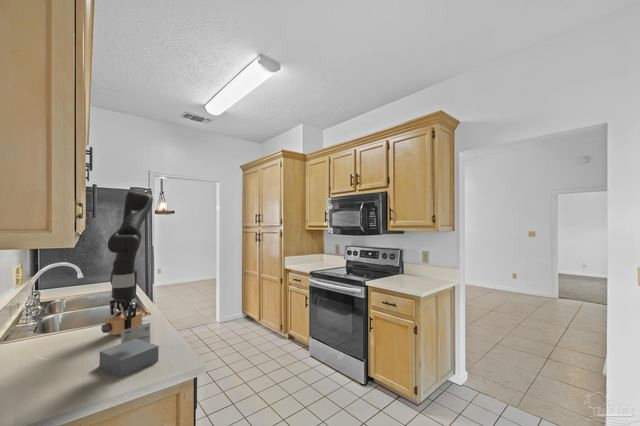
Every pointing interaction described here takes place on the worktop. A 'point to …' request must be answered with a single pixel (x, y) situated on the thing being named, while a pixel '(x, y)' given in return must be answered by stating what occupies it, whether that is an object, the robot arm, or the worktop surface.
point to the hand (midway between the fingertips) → (122, 327)
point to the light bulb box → (137, 333)
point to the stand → (128, 356)
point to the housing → (120, 323)
